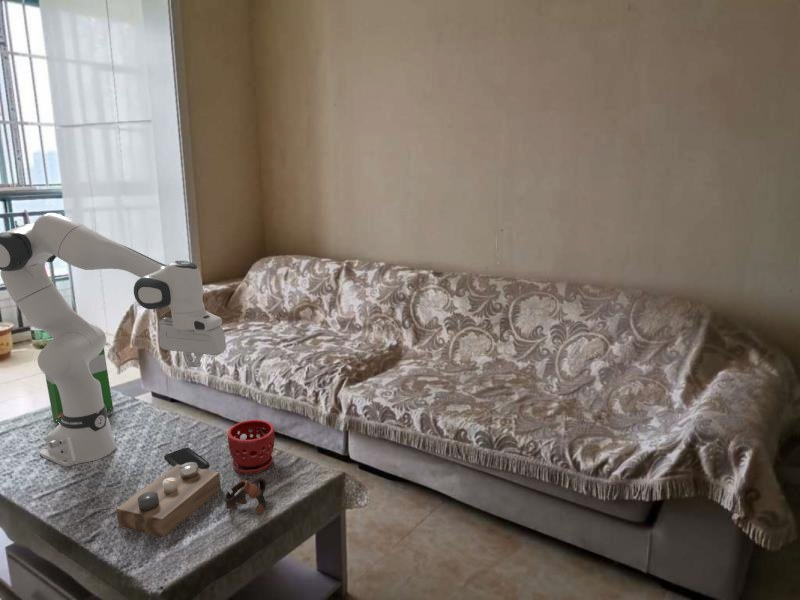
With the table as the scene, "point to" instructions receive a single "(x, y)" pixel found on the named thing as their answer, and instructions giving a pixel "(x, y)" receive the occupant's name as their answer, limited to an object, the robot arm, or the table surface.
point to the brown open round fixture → (248, 489)
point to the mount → (169, 502)
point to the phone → (185, 458)
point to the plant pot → (251, 446)
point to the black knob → (148, 501)
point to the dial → (169, 485)
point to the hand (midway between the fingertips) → (194, 366)
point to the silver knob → (189, 470)
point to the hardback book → (97, 371)
